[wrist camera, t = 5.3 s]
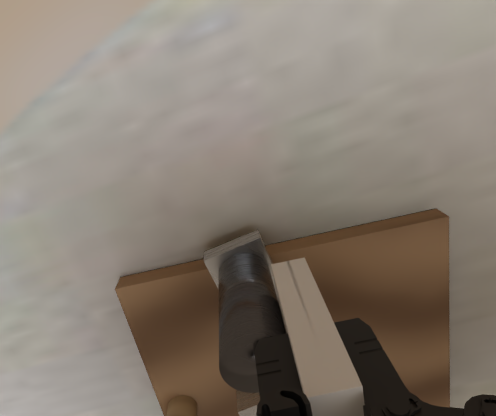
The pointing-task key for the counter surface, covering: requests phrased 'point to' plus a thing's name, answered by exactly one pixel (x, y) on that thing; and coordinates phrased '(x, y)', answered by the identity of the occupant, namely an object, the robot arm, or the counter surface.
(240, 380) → the square frame with handle
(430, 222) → the board
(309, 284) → the robot arm
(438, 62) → the counter surface
